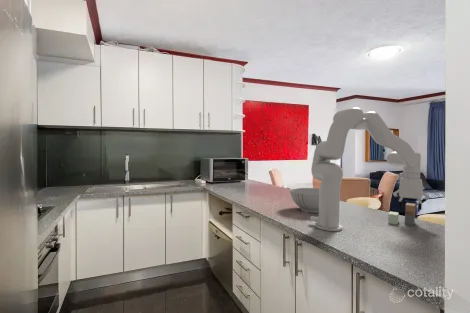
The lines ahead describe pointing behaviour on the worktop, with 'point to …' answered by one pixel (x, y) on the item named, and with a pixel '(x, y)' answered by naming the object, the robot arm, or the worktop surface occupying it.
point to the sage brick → (393, 217)
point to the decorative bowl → (306, 199)
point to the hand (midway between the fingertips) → (410, 209)
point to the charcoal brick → (409, 219)
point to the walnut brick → (410, 209)
